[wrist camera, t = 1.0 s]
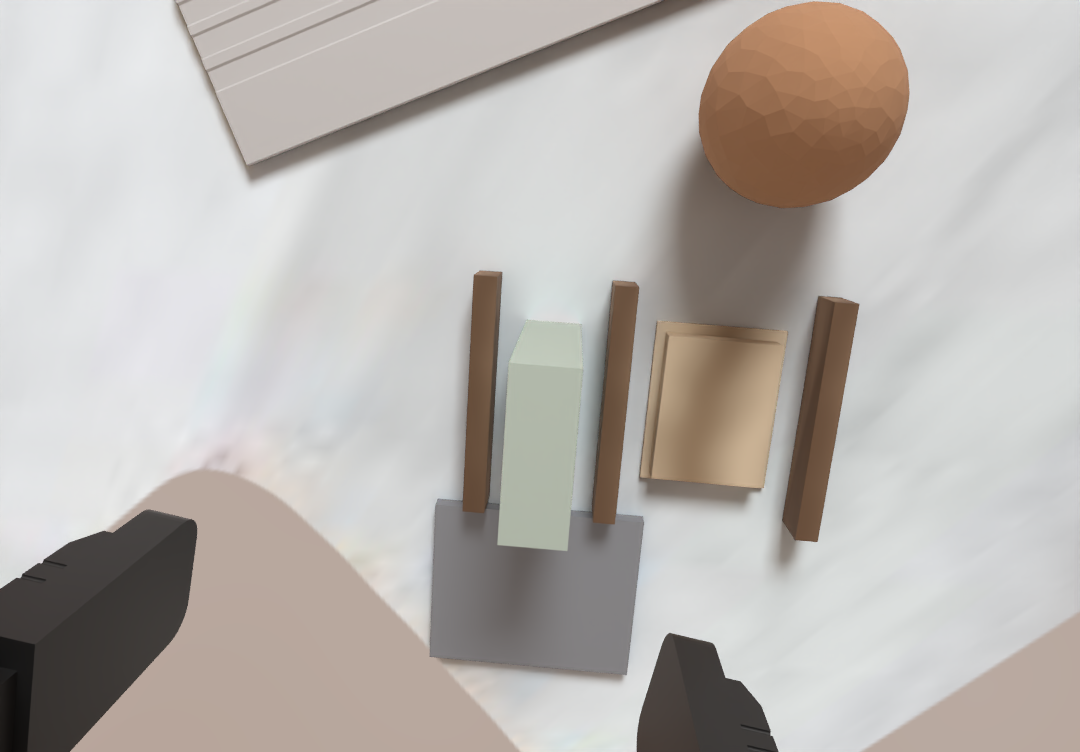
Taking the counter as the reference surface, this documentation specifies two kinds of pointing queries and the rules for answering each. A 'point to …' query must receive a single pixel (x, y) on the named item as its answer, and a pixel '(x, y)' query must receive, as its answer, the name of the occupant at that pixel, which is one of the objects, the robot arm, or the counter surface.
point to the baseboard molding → (362, 55)
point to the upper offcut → (714, 409)
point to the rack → (812, 430)
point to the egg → (804, 104)
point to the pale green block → (541, 436)
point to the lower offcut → (657, 367)
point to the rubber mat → (534, 593)
